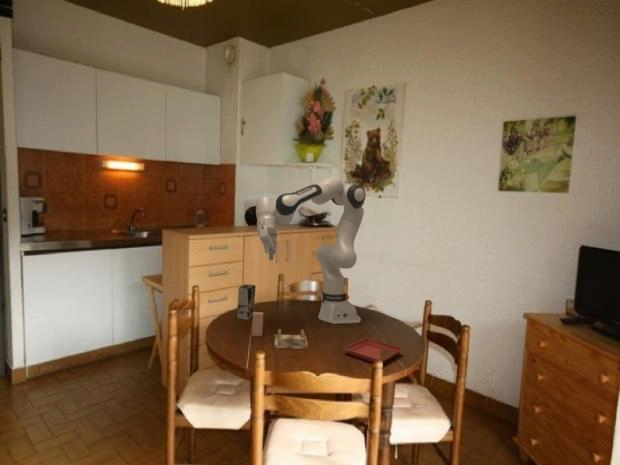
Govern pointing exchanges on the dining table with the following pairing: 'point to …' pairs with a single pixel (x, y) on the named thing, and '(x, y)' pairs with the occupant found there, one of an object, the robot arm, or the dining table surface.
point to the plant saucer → (371, 349)
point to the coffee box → (246, 301)
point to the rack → (291, 341)
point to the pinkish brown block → (257, 324)
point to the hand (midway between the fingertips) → (269, 256)
